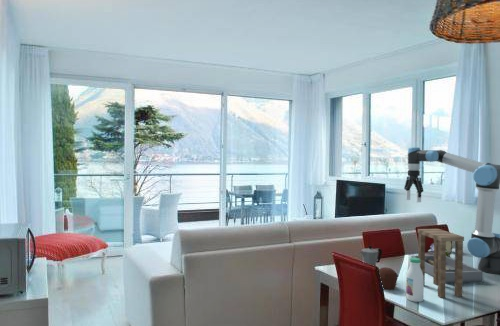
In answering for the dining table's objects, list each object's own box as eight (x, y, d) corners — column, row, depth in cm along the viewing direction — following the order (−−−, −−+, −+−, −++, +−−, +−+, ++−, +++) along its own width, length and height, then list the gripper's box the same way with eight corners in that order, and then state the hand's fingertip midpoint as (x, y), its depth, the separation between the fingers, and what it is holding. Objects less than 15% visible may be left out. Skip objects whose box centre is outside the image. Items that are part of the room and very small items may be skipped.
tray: (411, 265, 245) (411, 255, 245) (443, 264, 248) (443, 254, 248) (445, 283, 211) (445, 272, 210) (482, 282, 213) (482, 271, 213)
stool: (417, 283, 210) (417, 229, 210) (437, 283, 212) (438, 228, 211) (440, 298, 189) (441, 237, 189) (463, 297, 191) (464, 236, 190)
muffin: (370, 284, 209) (370, 266, 209) (387, 282, 213) (387, 264, 212) (385, 292, 198) (385, 272, 197) (402, 289, 202) (403, 270, 201)
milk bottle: (422, 297, 190) (423, 257, 190) (424, 303, 183) (424, 261, 183) (405, 295, 193) (406, 255, 192) (406, 301, 186) (407, 259, 185)
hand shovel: (422, 264, 244) (422, 259, 244) (436, 263, 245) (436, 259, 245) (452, 278, 215) (452, 273, 215) (467, 278, 216) (467, 273, 216)
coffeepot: (365, 280, 216) (366, 248, 216) (355, 275, 225) (355, 244, 225) (387, 276, 222) (387, 245, 222) (376, 272, 231) (376, 242, 231)
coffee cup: (454, 253, 276) (454, 236, 275) (440, 252, 277) (440, 236, 277) (450, 250, 285) (450, 233, 284) (436, 249, 287) (436, 233, 286)
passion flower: (436, 264, 266) (425, 250, 267) (436, 258, 275) (426, 244, 277) (451, 257, 261) (440, 242, 262) (451, 251, 270) (440, 236, 271)
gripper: (399, 169, 275) (399, 199, 275) (418, 170, 250) (418, 203, 251) (409, 169, 276) (408, 198, 276) (429, 170, 251) (429, 203, 251)
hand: (413, 201), depth 263 cm, fingers open, 13 cm apart
